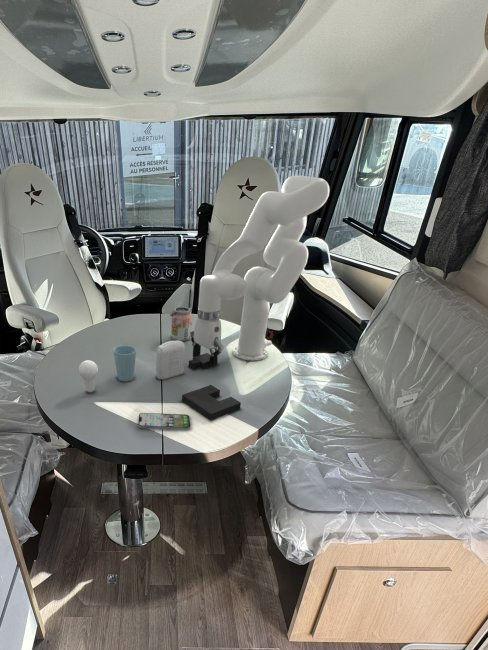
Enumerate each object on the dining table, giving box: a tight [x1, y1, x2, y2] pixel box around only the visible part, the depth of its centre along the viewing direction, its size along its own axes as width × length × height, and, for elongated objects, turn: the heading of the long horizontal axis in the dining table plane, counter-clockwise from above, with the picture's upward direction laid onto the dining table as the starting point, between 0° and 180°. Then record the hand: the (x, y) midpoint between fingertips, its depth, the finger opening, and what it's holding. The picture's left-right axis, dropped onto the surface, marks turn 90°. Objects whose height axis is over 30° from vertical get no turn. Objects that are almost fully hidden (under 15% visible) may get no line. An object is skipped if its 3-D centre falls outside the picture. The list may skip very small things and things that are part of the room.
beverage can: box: [169, 306, 193, 342], centre depth 179 cm, size 9×8×12 cm
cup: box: [113, 344, 137, 382], centre depth 150 cm, size 8×8×10 cm
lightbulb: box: [78, 359, 99, 393], centre depth 142 cm, size 6×6×11 cm
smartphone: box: [138, 412, 191, 431], centre depth 130 cm, size 7×1×15 cm
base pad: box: [181, 384, 242, 422], centre depth 138 cm, size 12×14×2 cm
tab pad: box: [188, 352, 219, 371], centre depth 161 cm, size 10×6×2 cm, turn 125°
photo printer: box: [155, 340, 186, 380], centre depth 151 cm, size 10×4×12 cm, turn 123°
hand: (204, 360), depth 162 cm, fingers open, 8 cm apart
